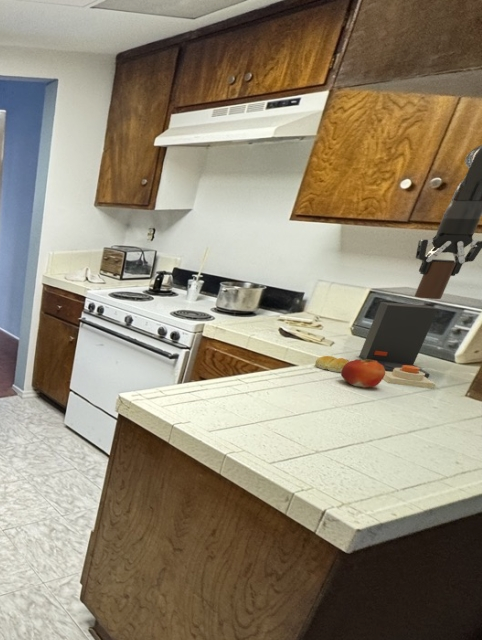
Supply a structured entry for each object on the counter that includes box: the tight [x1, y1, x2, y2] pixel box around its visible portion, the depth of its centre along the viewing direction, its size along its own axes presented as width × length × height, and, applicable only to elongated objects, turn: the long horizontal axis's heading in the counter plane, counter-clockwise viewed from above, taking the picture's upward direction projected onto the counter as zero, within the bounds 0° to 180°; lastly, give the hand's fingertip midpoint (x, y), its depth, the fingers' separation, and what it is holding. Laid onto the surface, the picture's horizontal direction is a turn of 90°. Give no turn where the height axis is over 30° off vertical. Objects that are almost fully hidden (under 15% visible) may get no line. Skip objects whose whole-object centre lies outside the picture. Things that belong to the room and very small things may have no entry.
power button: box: [401, 365, 421, 374], centre depth 141 cm, size 4×4×2 cm
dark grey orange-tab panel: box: [358, 301, 439, 379], centre depth 151 cm, size 17×12×20 cm
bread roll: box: [314, 355, 350, 373], centre depth 153 cm, size 8×9×4 cm
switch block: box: [382, 368, 436, 390], centre depth 142 cm, size 10×8×4 cm
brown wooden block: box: [414, 258, 456, 300], centre depth 147 cm, size 8×6×12 cm
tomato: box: [340, 358, 385, 389], centre depth 138 cm, size 9×9×8 cm
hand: (437, 274), depth 146 cm, fingers closed on brown wooden block, 6 cm apart
